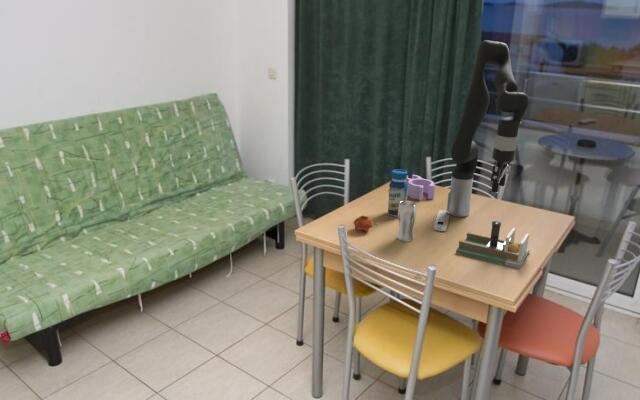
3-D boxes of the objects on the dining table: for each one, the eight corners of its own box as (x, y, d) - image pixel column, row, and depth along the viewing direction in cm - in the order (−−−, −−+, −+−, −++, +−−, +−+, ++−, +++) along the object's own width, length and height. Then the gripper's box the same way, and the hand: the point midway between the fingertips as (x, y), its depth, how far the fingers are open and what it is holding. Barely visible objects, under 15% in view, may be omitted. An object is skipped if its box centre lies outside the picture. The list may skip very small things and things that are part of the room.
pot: (358, 224, 221) (362, 210, 218) (373, 232, 217) (378, 218, 214) (348, 229, 214) (352, 215, 211) (364, 238, 211) (368, 224, 208)
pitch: (456, 253, 195) (458, 229, 192) (469, 238, 208) (471, 216, 205) (519, 268, 184) (523, 244, 181) (529, 252, 197) (532, 229, 193)
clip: (397, 189, 267) (398, 176, 264) (419, 186, 270) (420, 174, 268) (415, 201, 249) (416, 188, 246) (438, 199, 252) (440, 185, 250)
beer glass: (403, 243, 203) (405, 207, 198) (392, 236, 209) (395, 202, 204) (417, 240, 206) (420, 204, 201) (407, 233, 212) (409, 199, 207)
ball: (520, 249, 188) (514, 257, 190) (522, 246, 191) (516, 253, 193) (510, 243, 189) (504, 251, 191) (513, 239, 192) (507, 247, 195)
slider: (485, 250, 194) (488, 224, 190) (490, 243, 199) (493, 218, 196) (504, 255, 190) (508, 228, 187) (509, 248, 196) (513, 222, 192)
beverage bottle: (410, 214, 232) (413, 172, 225) (396, 218, 228) (398, 175, 221) (397, 209, 239) (400, 167, 232) (383, 212, 234) (385, 170, 227)
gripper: (500, 141, 197) (493, 181, 203) (488, 149, 186) (481, 191, 192) (520, 145, 193) (513, 186, 199) (509, 153, 182) (502, 196, 188)
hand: (497, 188), depth 196 cm, fingers open, 8 cm apart
